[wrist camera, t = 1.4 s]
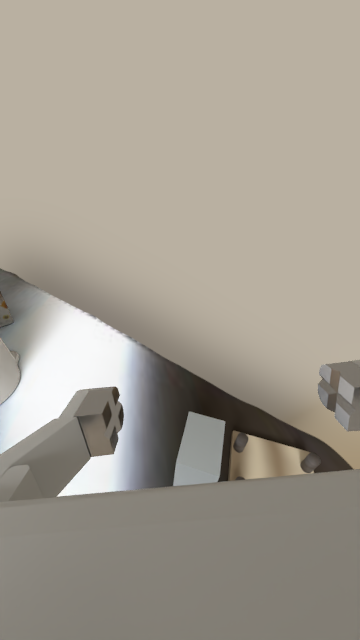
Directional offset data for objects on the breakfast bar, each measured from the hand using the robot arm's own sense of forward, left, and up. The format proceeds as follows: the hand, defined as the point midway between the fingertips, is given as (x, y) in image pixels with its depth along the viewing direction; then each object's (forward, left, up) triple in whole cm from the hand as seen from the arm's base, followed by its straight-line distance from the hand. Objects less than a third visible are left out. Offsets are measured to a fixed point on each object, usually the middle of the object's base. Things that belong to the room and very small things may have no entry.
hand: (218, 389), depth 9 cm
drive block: (0, +7, -30) cm, 31 cm away
